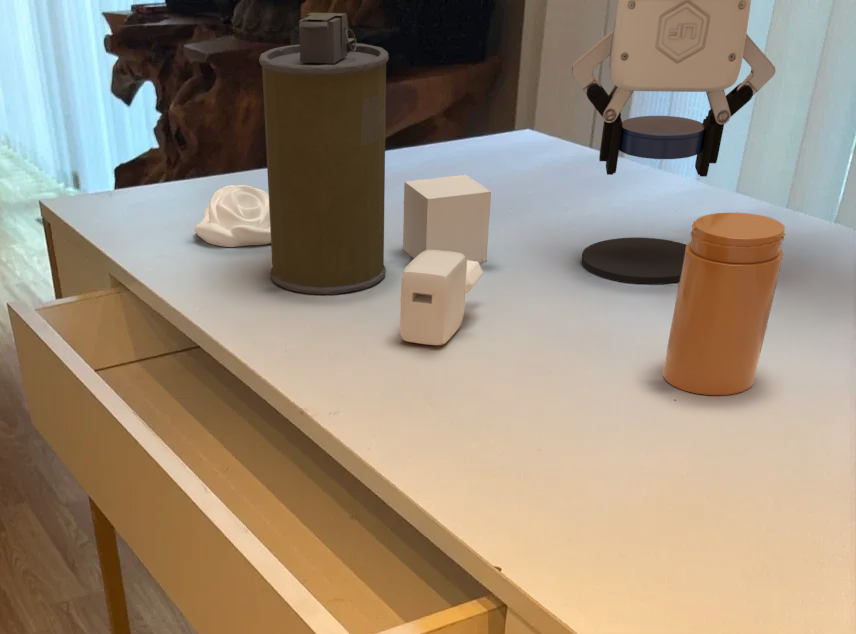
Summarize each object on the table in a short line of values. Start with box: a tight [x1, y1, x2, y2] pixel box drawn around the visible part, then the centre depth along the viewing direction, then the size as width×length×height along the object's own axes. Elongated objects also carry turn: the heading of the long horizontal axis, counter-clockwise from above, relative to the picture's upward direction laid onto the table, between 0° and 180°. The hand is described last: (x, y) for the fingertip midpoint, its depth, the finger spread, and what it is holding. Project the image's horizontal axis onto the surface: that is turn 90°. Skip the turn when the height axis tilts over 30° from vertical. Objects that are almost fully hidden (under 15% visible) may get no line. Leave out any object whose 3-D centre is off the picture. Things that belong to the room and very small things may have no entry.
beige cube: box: [402, 174, 492, 263], centre depth 102 cm, size 6×6×6 cm
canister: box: [258, 12, 390, 295], centre depth 95 cm, size 11×10×20 cm
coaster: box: [580, 236, 687, 285], centre depth 101 cm, size 11×11×1 cm
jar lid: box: [619, 115, 706, 160], centre depth 94 cm, size 7×7×2 cm
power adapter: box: [399, 250, 484, 346], centre depth 89 cm, size 11×5×6 cm, turn 157°
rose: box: [193, 184, 271, 248], centre depth 109 cm, size 10×4×10 cm
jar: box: [662, 212, 787, 396], centre depth 78 cm, size 6×6×11 cm
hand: (655, 169), depth 96 cm, fingers closed on jar lid, 7 cm apart
